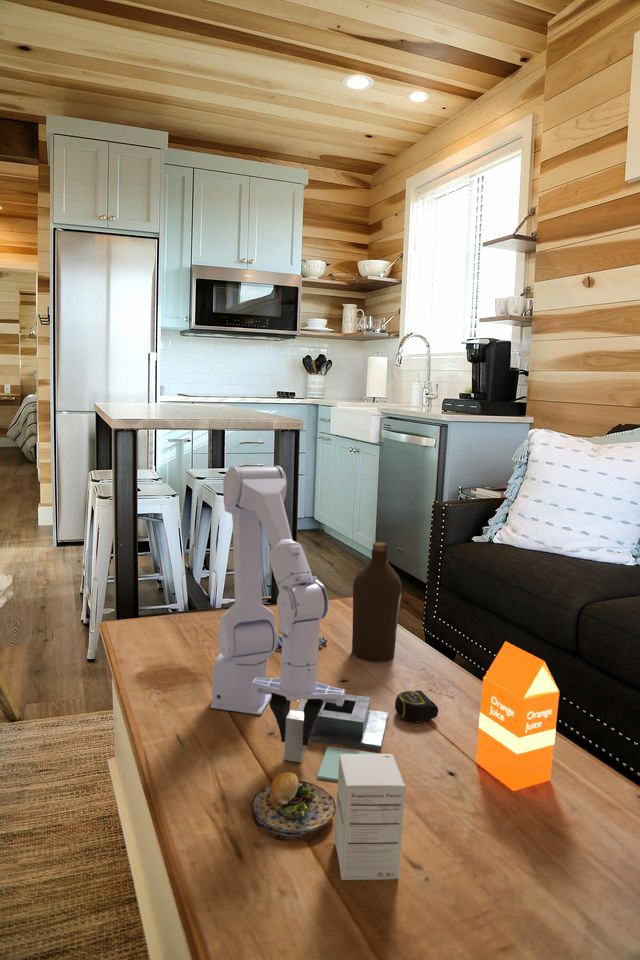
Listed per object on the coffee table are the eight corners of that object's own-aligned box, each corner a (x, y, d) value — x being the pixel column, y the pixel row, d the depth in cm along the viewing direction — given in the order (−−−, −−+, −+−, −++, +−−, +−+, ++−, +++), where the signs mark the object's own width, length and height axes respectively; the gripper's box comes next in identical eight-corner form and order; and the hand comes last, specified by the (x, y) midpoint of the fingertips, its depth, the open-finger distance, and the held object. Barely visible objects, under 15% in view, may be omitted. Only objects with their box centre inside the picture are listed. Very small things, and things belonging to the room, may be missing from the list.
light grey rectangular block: (284, 759, 111) (286, 718, 110) (288, 750, 114) (290, 710, 113) (301, 762, 111) (303, 720, 110) (305, 753, 113) (307, 712, 112)
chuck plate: (285, 737, 119) (286, 714, 118) (301, 705, 130) (302, 685, 130) (380, 751, 116) (381, 728, 115) (387, 717, 127) (389, 696, 127)
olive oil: (356, 664, 150) (363, 549, 147) (343, 645, 161) (350, 538, 157) (403, 662, 153) (411, 549, 149) (388, 643, 163) (395, 538, 159)
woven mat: (264, 649, 157) (265, 641, 157) (291, 636, 166) (292, 628, 166) (303, 661, 152) (304, 652, 151) (329, 647, 161) (330, 638, 160)
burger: (327, 850, 91) (330, 797, 90) (239, 835, 93) (241, 783, 92) (341, 797, 103) (344, 749, 102) (263, 785, 105) (265, 738, 104)
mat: (317, 778, 107) (317, 775, 107) (327, 748, 116) (327, 746, 116) (376, 787, 105) (376, 784, 105) (382, 756, 114) (382, 754, 114)
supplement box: (333, 842, 93) (338, 752, 91) (388, 841, 93) (395, 752, 91) (339, 882, 85) (345, 785, 84) (399, 881, 86) (406, 785, 84)
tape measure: (438, 723, 126) (440, 704, 126) (403, 727, 124) (405, 707, 124) (422, 706, 133) (423, 687, 132) (388, 709, 131) (389, 690, 130)
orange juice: (513, 791, 106) (525, 665, 103) (474, 762, 114) (485, 643, 111) (551, 780, 110) (564, 657, 107) (511, 752, 118) (522, 637, 115)
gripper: (247, 663, 107) (244, 746, 109) (341, 675, 105) (336, 760, 107) (260, 646, 114) (256, 725, 116) (348, 657, 112) (343, 737, 114)
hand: (295, 740), depth 112 cm, fingers closed on light grey rectangular block, 3 cm apart
